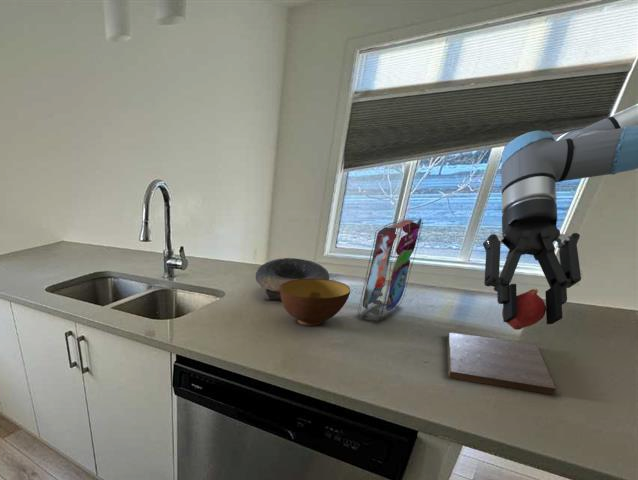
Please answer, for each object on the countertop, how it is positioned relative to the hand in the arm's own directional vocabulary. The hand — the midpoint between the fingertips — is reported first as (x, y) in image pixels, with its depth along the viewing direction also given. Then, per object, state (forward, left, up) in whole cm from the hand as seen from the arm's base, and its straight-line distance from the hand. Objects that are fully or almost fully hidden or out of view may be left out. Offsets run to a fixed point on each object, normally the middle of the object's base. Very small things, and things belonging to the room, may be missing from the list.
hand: (531, 320), depth 73 cm
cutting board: (+8, -7, -14) cm, 18 cm away
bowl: (+43, +15, -14) cm, 48 cm away
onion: (+3, -2, -4) cm, 5 cm away
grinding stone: (+67, +7, -14) cm, 69 cm away
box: (+44, -10, -14) cm, 48 cm away
